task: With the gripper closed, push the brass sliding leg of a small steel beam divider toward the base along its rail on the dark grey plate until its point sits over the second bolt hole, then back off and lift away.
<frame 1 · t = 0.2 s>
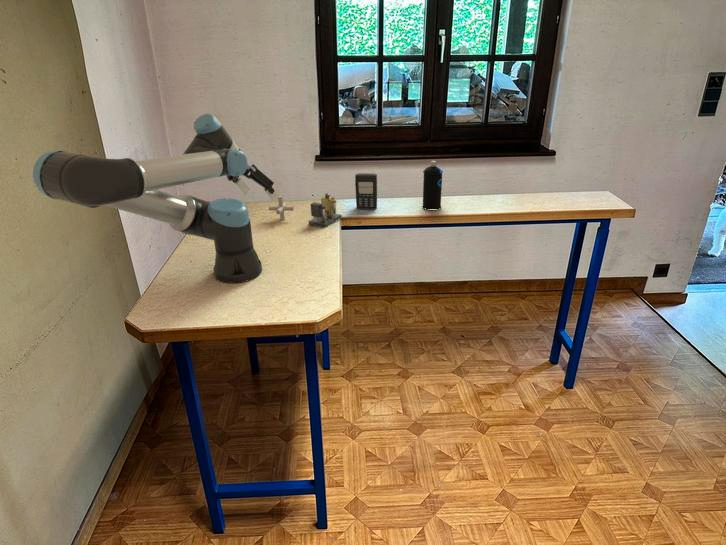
hand: (261, 194, 175), 16 cm above the table, tool tilted 35°, fingers open, 13 cm apart
aerosol can: (431, 207, 205), on the table
pipe connector: (282, 220, 197), on the table
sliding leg: (329, 204, 194), point 6 cm above the table, slide at 0.0 cm
bolt plate: (325, 221, 194), on the table
card reader: (366, 208, 207), on the table
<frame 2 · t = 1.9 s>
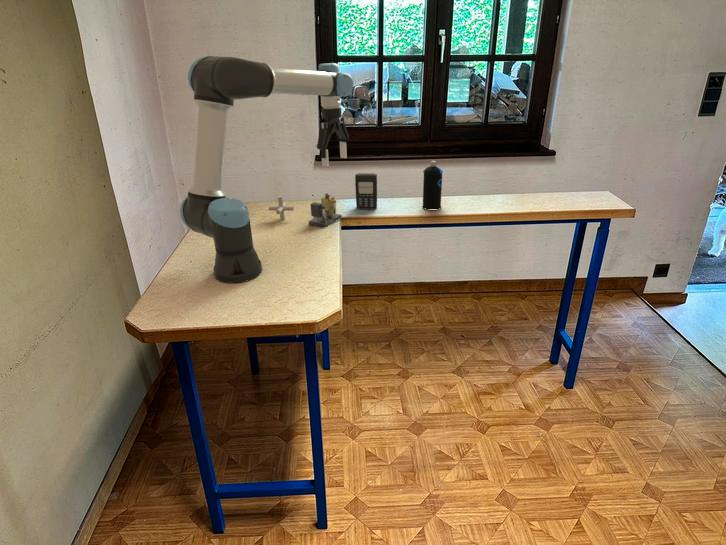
hand: (334, 161, 193), 22 cm above the table, tool pointing down, fingers open, 13 cm apart
nothing on the table moved.
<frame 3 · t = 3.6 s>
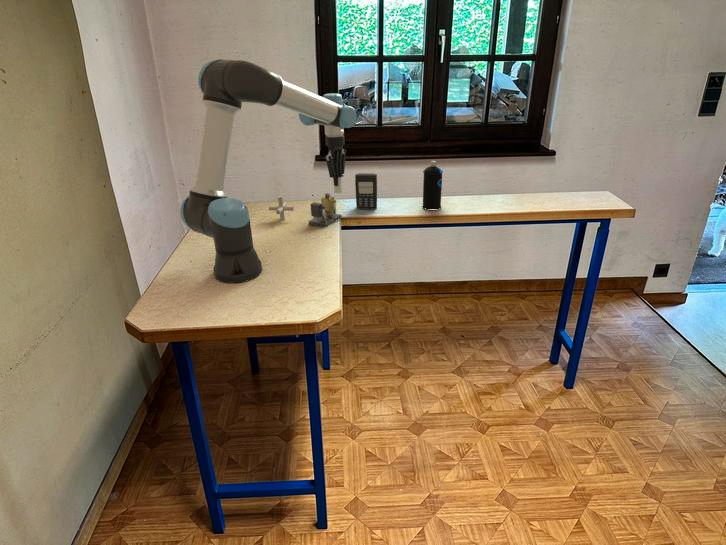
hand: (338, 192, 199), 9 cm above the table, tool pointing down, fingers closed
nothing on the table moved.
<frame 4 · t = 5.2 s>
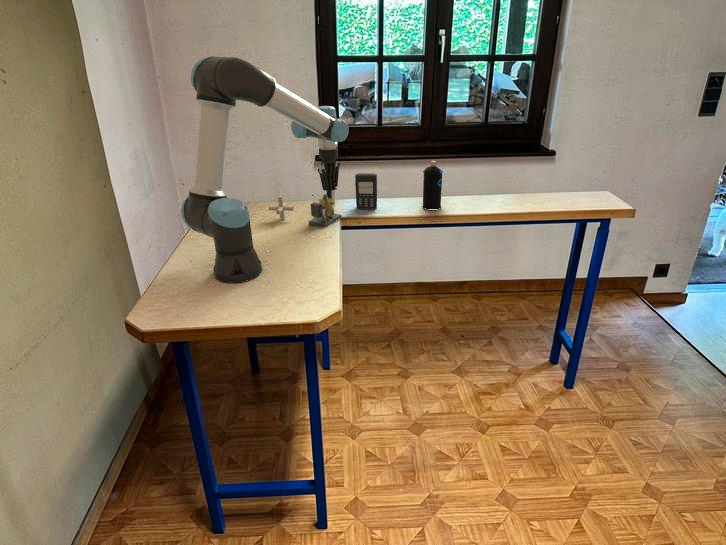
hand: (331, 205, 197), 5 cm above the table, tool pointing down, fingers closed
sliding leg: (327, 205, 193), point 6 cm above the table, slide at 1.5 cm, touching gripper
everything else where it was.
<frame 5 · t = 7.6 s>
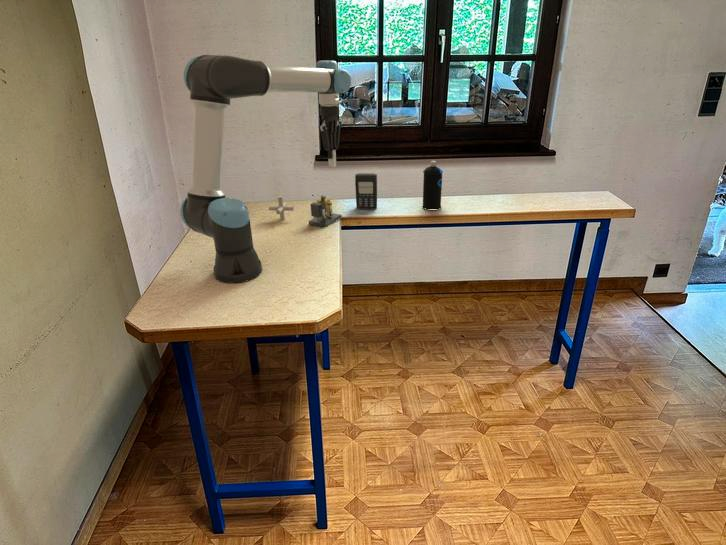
hand: (332, 166, 192), 20 cm above the table, tool pointing down, fingers closed
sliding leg: (325, 206, 192), point 6 cm above the table, slide at 3.0 cm
everything else where it was.
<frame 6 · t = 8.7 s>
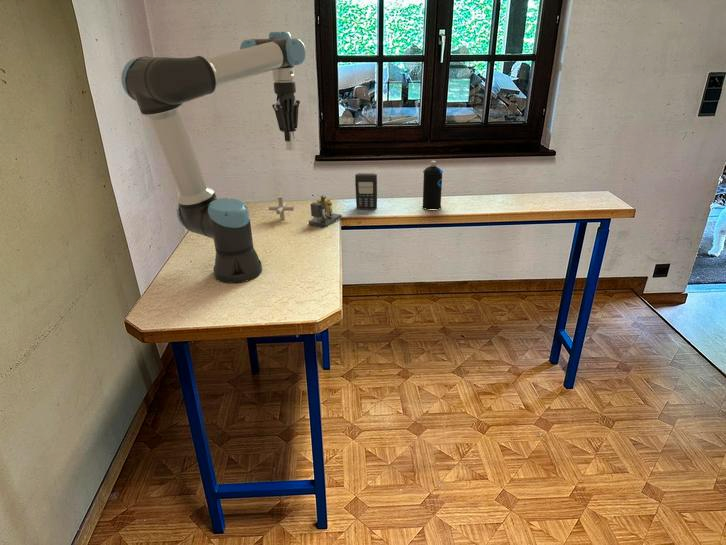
hand: (290, 149, 176), 30 cm above the table, tool pointing down, fingers closed
nothing on the table moved.
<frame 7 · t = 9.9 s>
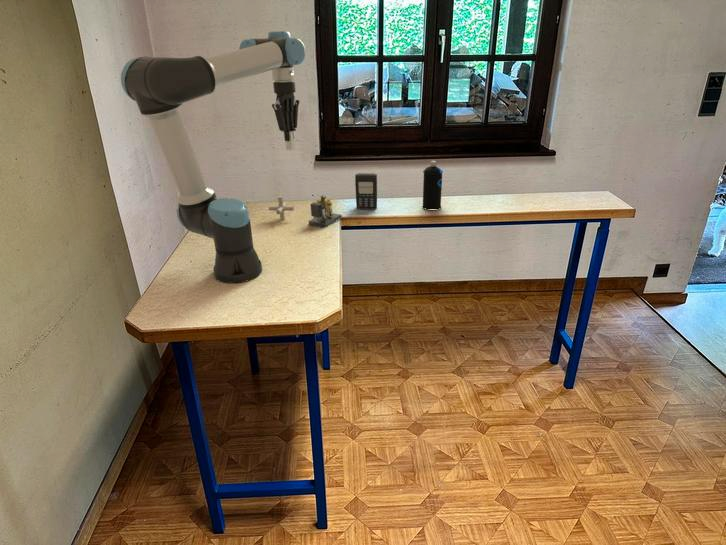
hand: (290, 149, 176), 30 cm above the table, tool pointing down, fingers closed
nothing on the table moved.
at the end: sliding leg slide at 3.0 cm; card reader moved 0.2 cm from its start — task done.
